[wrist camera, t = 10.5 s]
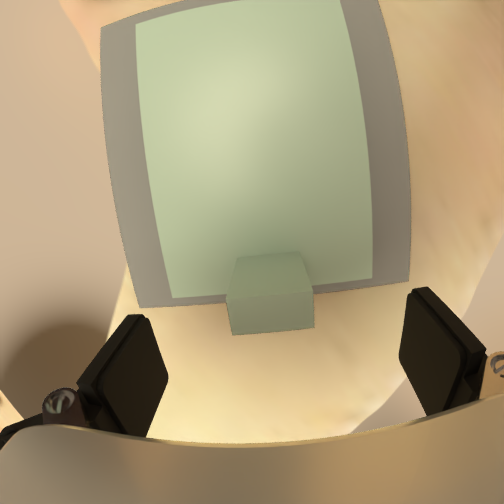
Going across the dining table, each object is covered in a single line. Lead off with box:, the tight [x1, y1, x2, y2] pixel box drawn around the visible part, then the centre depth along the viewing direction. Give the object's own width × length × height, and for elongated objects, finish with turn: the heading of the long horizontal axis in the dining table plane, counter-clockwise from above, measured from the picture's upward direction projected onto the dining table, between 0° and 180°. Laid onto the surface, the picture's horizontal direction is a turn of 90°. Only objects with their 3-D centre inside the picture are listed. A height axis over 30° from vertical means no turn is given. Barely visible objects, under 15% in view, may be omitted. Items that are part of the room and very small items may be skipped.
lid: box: [136, 0, 373, 335], centre depth 15 cm, size 14×20×8 cm
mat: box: [100, 0, 411, 308], centre depth 19 cm, size 22×24×1 cm
